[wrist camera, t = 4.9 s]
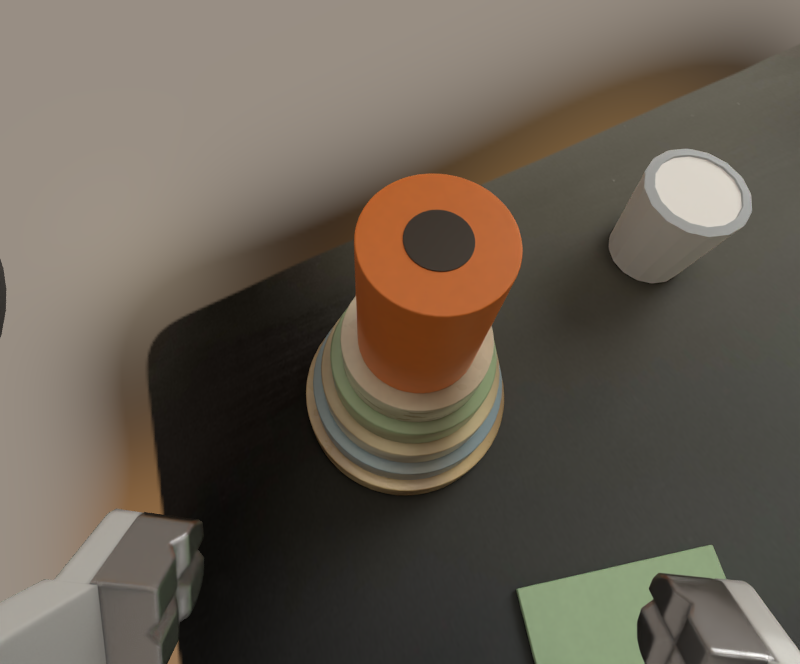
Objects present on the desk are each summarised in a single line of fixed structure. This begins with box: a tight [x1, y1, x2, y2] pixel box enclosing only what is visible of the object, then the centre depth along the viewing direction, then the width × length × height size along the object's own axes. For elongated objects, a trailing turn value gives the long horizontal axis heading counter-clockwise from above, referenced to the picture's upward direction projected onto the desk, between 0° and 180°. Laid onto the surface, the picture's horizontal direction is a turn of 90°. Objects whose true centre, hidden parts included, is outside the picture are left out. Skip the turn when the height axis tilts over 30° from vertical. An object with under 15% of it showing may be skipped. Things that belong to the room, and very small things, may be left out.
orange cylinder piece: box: [354, 174, 523, 393], centre depth 21 cm, size 6×6×8 cm
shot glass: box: [609, 149, 752, 284], centre depth 36 cm, size 7×7×7 cm
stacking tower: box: [306, 296, 504, 495], centre depth 29 cm, size 12×12×10 cm
